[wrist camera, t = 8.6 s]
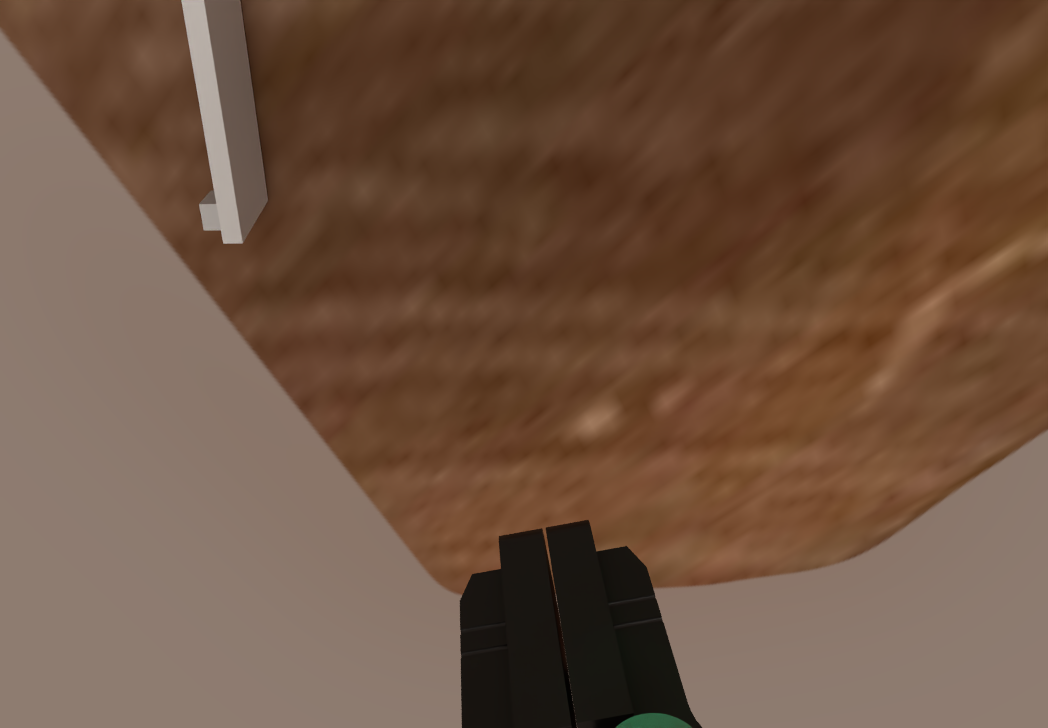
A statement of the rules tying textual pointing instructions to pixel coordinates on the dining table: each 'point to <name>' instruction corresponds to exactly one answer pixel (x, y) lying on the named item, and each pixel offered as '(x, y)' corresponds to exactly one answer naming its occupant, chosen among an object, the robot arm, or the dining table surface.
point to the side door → (226, 117)
